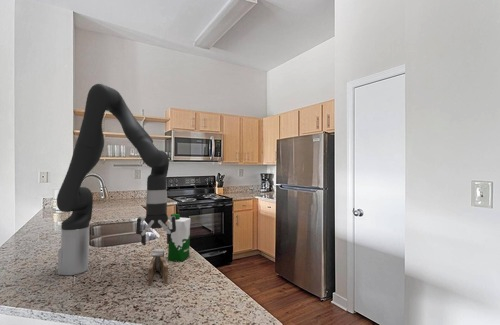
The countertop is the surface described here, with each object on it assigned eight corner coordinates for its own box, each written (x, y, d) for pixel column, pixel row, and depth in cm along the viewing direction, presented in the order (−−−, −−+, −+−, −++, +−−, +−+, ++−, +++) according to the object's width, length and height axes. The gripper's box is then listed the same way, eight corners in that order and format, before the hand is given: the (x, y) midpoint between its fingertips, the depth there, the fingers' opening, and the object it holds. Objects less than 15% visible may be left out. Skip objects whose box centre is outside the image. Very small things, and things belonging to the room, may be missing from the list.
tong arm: (153, 268, 104) (154, 254, 105) (160, 267, 106) (161, 253, 106) (159, 284, 90) (160, 267, 91) (167, 282, 92) (167, 266, 92)
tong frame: (153, 265, 108) (154, 249, 109) (163, 265, 109) (164, 248, 109) (146, 286, 89) (146, 266, 89) (158, 285, 90) (159, 265, 90)
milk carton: (174, 254, 123) (175, 212, 123) (192, 256, 121) (192, 213, 121) (164, 261, 114) (165, 215, 115) (183, 262, 112) (184, 216, 113)
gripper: (134, 203, 93) (134, 248, 93) (175, 202, 97) (175, 245, 96) (138, 201, 101) (138, 242, 100) (176, 200, 104) (176, 240, 103)
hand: (156, 244), depth 98 cm, fingers open, 8 cm apart
